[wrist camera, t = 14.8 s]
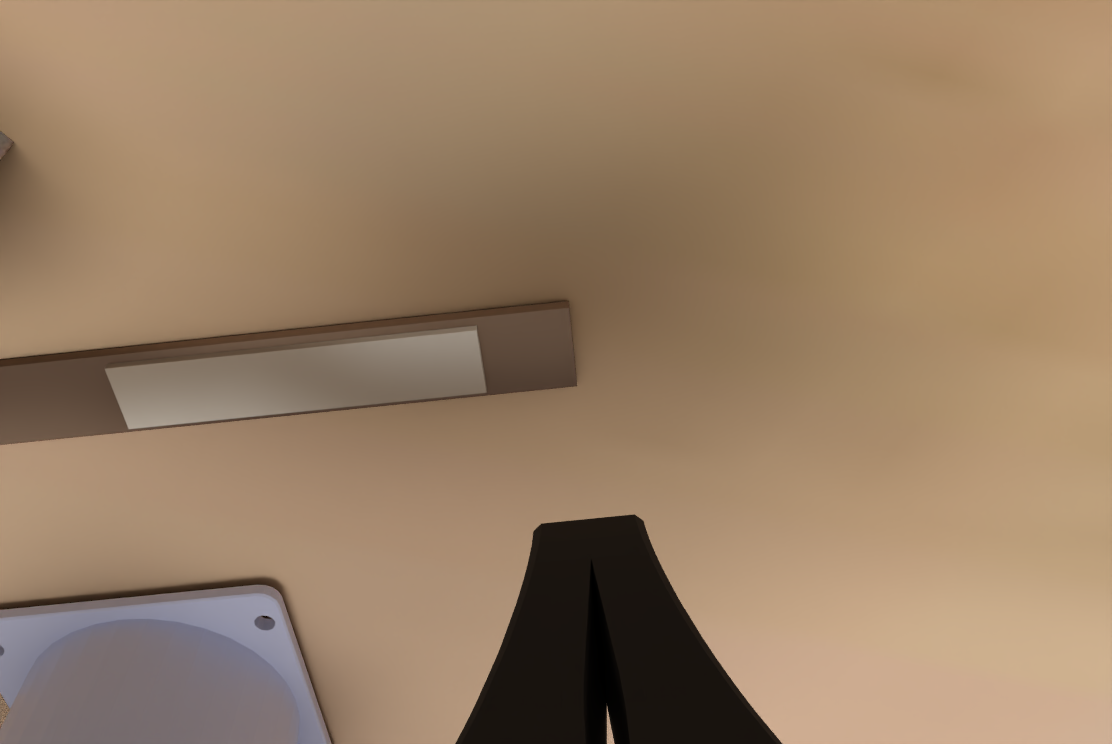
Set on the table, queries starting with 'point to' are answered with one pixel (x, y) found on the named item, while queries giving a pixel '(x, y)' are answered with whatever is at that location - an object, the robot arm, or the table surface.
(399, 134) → the table surface
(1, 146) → the food container
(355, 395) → the game lane
